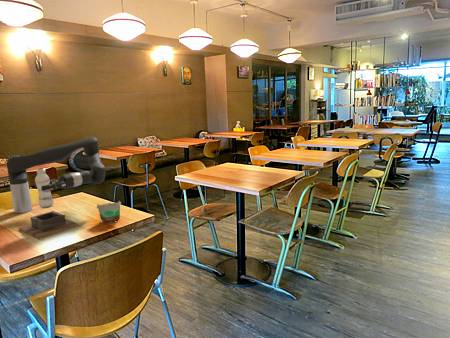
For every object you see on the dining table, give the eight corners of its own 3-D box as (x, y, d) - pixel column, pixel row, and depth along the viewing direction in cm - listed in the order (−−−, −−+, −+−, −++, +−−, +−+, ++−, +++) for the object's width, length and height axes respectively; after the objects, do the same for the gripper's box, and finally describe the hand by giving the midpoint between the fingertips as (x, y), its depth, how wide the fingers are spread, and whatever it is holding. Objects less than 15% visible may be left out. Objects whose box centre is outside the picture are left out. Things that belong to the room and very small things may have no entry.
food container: (100, 225, 175) (98, 207, 173) (98, 222, 181) (96, 204, 179) (124, 221, 181) (123, 203, 179) (122, 217, 186) (120, 200, 184)
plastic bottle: (48, 210, 169) (42, 170, 165) (36, 209, 171) (30, 170, 166) (57, 205, 175) (51, 167, 171) (45, 205, 177) (39, 167, 172)
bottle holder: (18, 229, 174) (17, 218, 173) (57, 218, 189) (56, 207, 188) (39, 239, 161) (37, 226, 159) (79, 225, 176) (77, 214, 175)
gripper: (63, 172, 185) (30, 178, 172) (77, 174, 177) (44, 182, 164) (64, 185, 187) (33, 193, 174) (79, 189, 178) (46, 197, 165)
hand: (38, 187), depth 169 cm, fingers closed on plastic bottle, 6 cm apart
